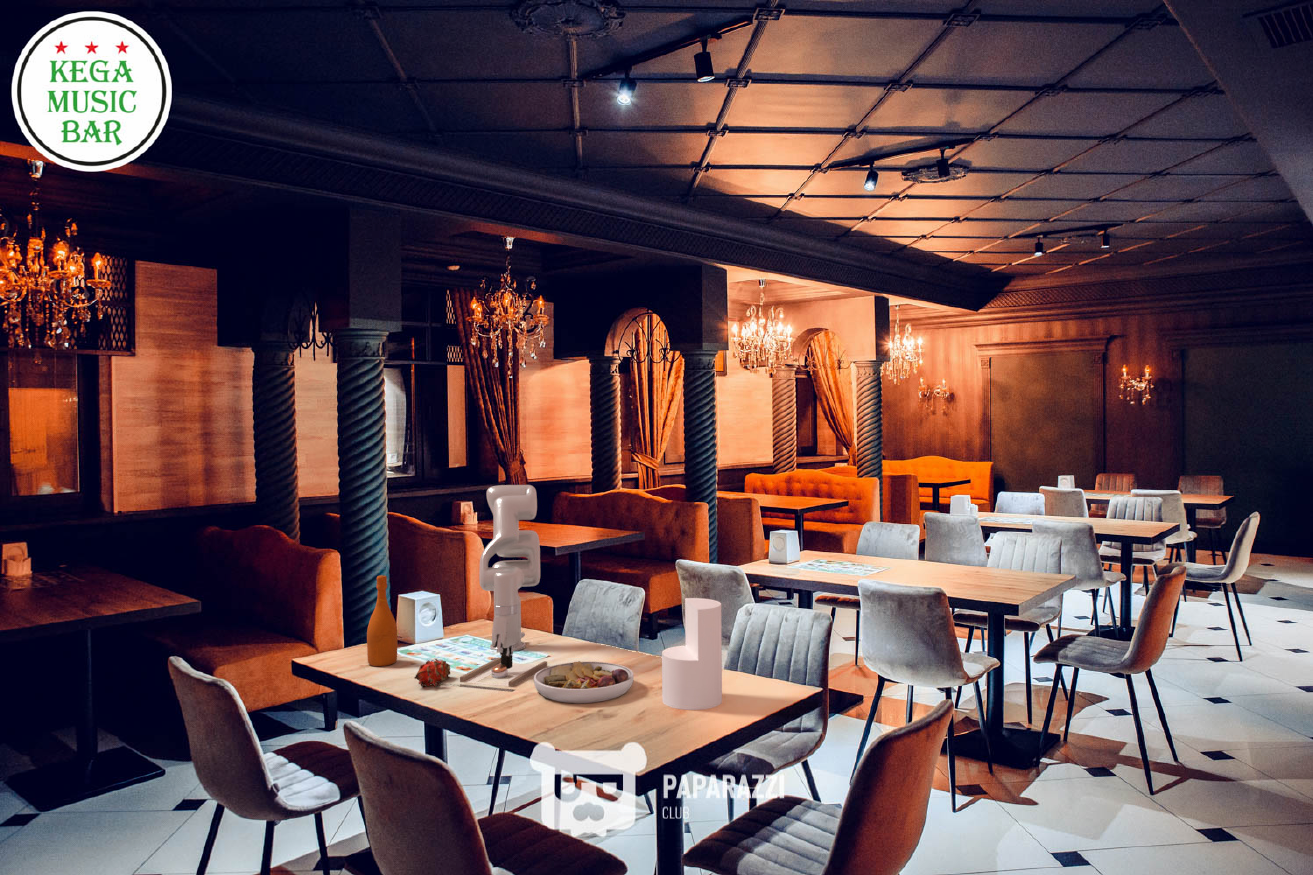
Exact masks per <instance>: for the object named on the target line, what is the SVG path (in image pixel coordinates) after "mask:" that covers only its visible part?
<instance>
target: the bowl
mask: <svg viewBox="0 0 1313 875" xmlns="http://www.w3.org/2000/svg"><path fill="white" fill-rule="evenodd" d="M634 675H635V674H634V671H633V670H632V669H630V667H627V666H624V665H621V664H618V663H611V662H604V661H579V660H578V661H574V662H567V663H565V662H564V663H559V664H554V665H550V666H547V667H545V668H544V669H542V670H540V671H538V672H537V673H535V674H534V675H533V684H534V687H535V690H536V691H537V692H538V693H539V694H540V695H541V696H543V697H544V698H547V699H548V700H550V701H551V700H552V701H555V702H558V703H559V702H560V703H567V704H593V703H601V702H605V701H609V700H613V699H615V698H619V697H620V696H623V695H624V694H625V693H627V692H628V691H629V689H630V688H631V687H632V686H633V683H634Z"/></svg>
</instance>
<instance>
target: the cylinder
mask: <svg viewBox="0 0 1313 875" xmlns="http://www.w3.org/2000/svg"><path fill="white" fill-rule="evenodd" d="M684 601H685V603H684V610H685V611H684V612H685V614H684V616H685V618H684V619H685V624H684V628H685V634H684V635H685V645H676V646H671V647H668V648H665V649H663V651H662V652H661V674H662V675H661V686H662V688H661V696H662V697H661V698H662V703H663V704H664V705H665V706H667V707H670V708H673V709H677V710H683V711H701V710H709V709H713V708H715V707H718V706H719V705H721V704H722V702H723V668H722V667H723V664H722V662H723V660H722V658H723V657H722V656H723V654H722V650H723V649H722V640H723V639H722V603H721V602H720V601H719V600H716V599H711V598H704V597H703V598H701V597H685V598H684Z"/></svg>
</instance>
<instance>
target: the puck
mask: <svg viewBox="0 0 1313 875" xmlns="http://www.w3.org/2000/svg"><path fill="white" fill-rule="evenodd" d="M491 672H492V674H491V677H492V678H493V679H503V678H508V677H509V676H508V669H507V667H506V665H503V664H499V665H495V666H494V667H492V670H491Z"/></svg>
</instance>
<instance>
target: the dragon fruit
mask: <svg viewBox="0 0 1313 875" xmlns="http://www.w3.org/2000/svg"><path fill="white" fill-rule="evenodd" d="M450 675H451V664H449V663H447V661H446V660H443V659H442V660H439V659H437V658H434V660H433V661H432V660H427V661H425V663H423V664H421V665H420V666H419V670H418V671H417V673H416V674H415V676H414V680H418V683H417V684H418V685H420V686H421V687H429V686H432V685H433V687H434V688H436V687H437V686H439V685H442V684H443V682H444V681H445V680H448V679H449V678H450ZM442 681H443V682H442Z"/></svg>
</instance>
